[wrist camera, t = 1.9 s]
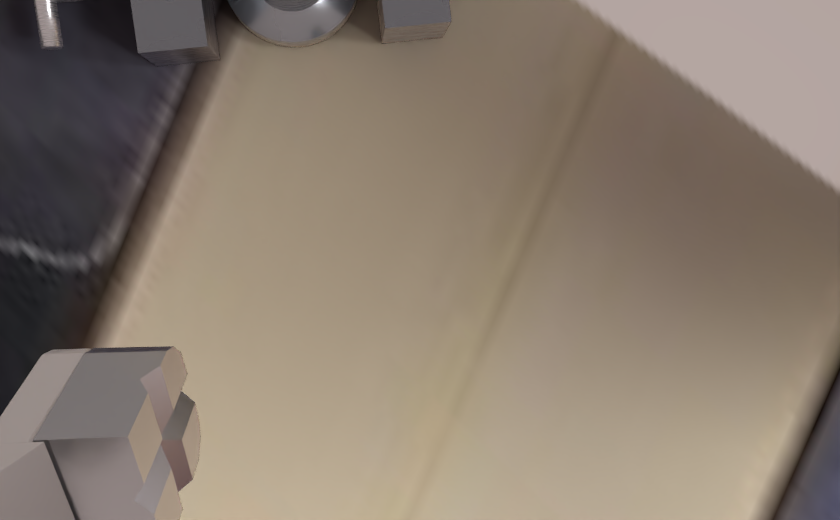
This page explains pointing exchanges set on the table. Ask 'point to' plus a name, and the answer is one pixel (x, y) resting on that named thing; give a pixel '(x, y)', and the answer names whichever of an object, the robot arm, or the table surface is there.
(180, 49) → the vise
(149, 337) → the table surface
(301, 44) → the grey tall rounded piece
